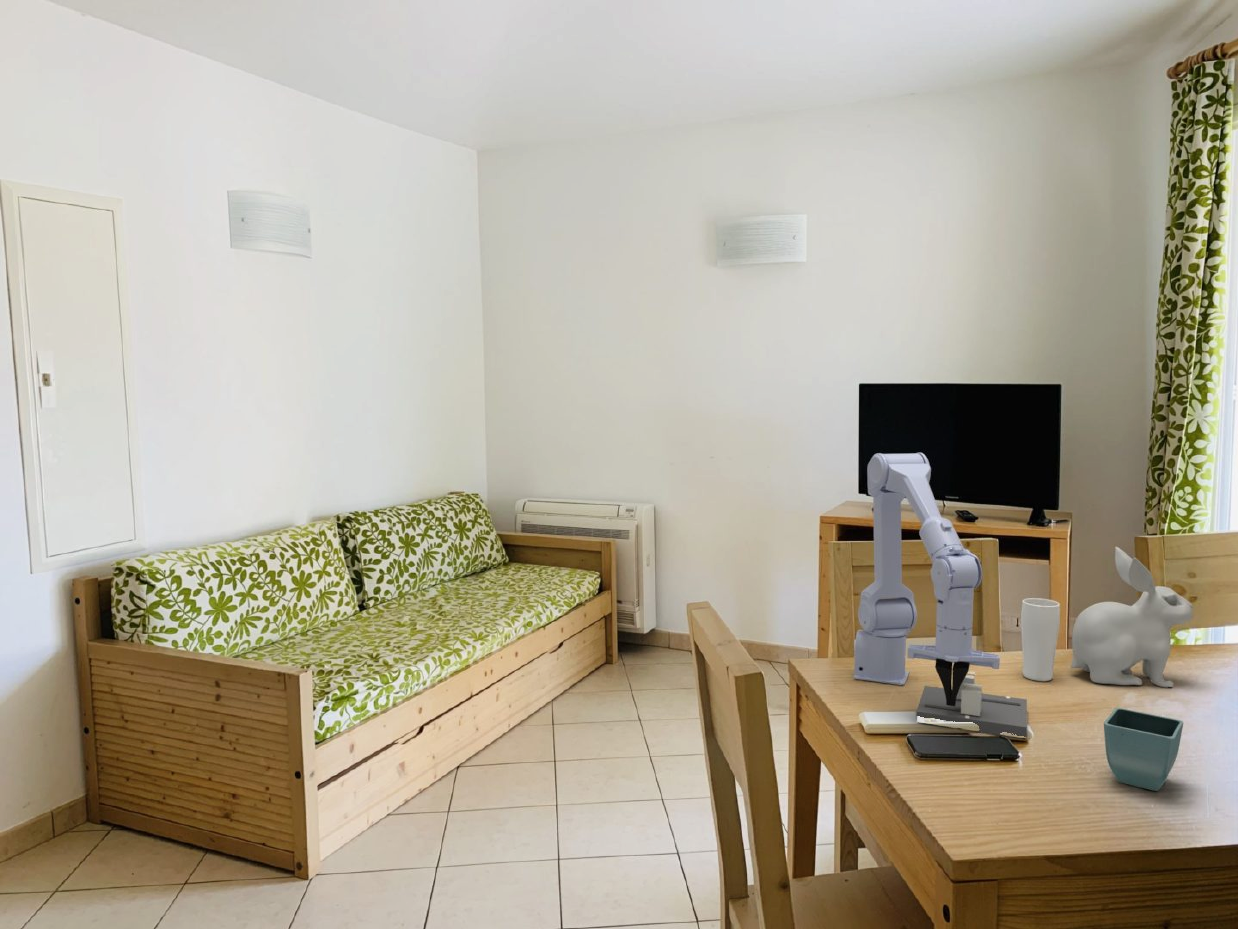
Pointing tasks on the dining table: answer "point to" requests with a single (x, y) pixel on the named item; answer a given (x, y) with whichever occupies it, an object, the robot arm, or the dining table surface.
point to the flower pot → (1141, 747)
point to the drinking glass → (1039, 637)
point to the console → (993, 717)
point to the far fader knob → (968, 679)
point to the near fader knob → (971, 699)
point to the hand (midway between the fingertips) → (951, 704)
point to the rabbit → (1129, 630)
